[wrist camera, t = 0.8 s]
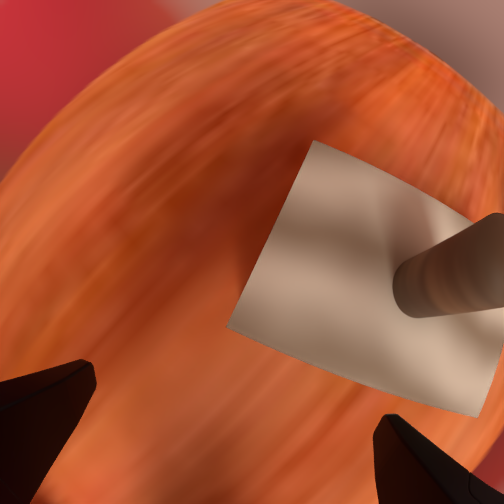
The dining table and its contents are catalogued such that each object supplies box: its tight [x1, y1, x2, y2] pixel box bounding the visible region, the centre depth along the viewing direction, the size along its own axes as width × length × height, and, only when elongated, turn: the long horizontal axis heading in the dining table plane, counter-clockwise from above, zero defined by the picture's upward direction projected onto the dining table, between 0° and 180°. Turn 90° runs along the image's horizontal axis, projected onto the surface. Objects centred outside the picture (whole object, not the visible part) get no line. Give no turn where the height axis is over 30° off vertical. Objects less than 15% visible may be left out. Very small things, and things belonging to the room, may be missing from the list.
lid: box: [226, 140, 504, 418], centre depth 12 cm, size 13×19×9 cm
